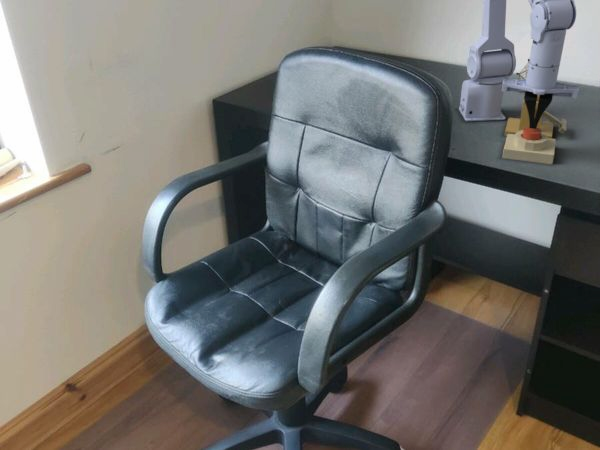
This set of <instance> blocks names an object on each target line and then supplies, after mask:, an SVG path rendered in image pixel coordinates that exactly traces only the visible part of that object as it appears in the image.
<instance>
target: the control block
mask: <svg viewBox="0 0 600 450" xmlns="http://www.w3.org/2000/svg"><path fill="white" fill-rule="evenodd" d="M522 135H523V130H521V131H519V132H517V133H516V134H515V135H514V134H507V136H506V138H505V142H504V146H503V150H502V156H501V157H502V159H506V160H507V159H508V160H516V161H523V162H532V163H539V164H547V165H553V164H554V159H555V153H556V152H555V151H556V142H557V139H556V138H552V139H549V138H548V136H547V135H546V134H545V133H542V132H541V137H540V140H535V141H532V140H526V139H524V138H522Z"/></svg>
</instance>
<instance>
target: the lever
mask: <svg viewBox="0 0 600 450" xmlns="http://www.w3.org/2000/svg"><path fill="white" fill-rule="evenodd" d="M537 101H538V100H537ZM542 118H545V119H546V120H548V122H552V123H554V125H555V126H557V127H558V132H559V133H560V134H561V135H564V133H566V131H567V126H568V125H567V124H568V121H567V120H566V119H565V118H561V120H560V119H558V118H557V117H556V116H554V115H553V114H551V113H550V112H548V111H547V110H545V111H544V113H543V114H542Z"/></svg>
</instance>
